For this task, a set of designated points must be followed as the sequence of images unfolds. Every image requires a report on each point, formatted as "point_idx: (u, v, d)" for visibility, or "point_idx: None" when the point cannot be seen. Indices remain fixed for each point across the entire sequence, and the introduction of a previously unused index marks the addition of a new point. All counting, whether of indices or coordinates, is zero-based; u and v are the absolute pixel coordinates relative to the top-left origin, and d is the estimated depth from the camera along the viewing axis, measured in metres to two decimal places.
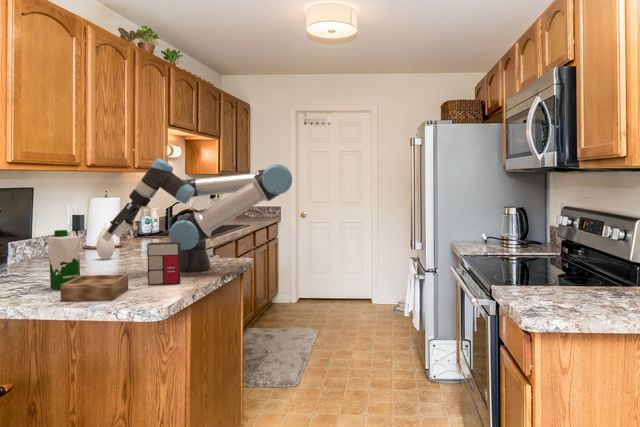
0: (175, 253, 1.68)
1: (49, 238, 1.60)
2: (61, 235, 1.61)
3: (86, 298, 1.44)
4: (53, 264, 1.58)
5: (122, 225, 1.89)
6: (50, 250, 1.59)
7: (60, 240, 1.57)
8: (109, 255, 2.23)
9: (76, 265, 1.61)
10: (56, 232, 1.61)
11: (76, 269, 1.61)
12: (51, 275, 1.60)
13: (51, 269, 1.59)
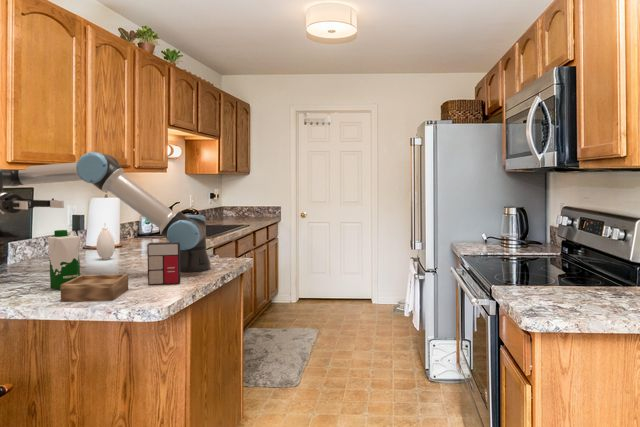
0: (175, 253, 1.68)
1: (49, 238, 1.60)
2: (61, 235, 1.61)
3: (86, 298, 1.44)
4: (53, 264, 1.58)
5: (53, 205, 1.73)
6: (50, 250, 1.59)
7: (60, 240, 1.57)
8: (109, 255, 2.23)
9: (76, 265, 1.61)
10: (56, 232, 1.61)
11: (76, 269, 1.61)
12: (51, 275, 1.60)
13: (51, 269, 1.59)
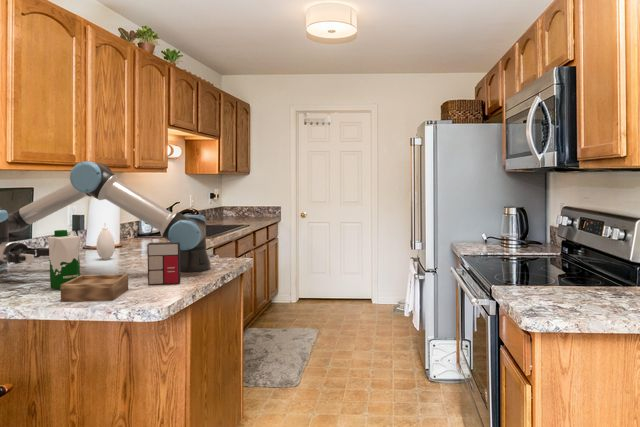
0: (175, 253, 1.68)
1: (49, 238, 1.60)
2: (61, 235, 1.61)
3: (86, 298, 1.44)
4: (53, 264, 1.58)
5: None
6: (50, 250, 1.59)
7: (60, 240, 1.57)
8: (109, 255, 2.23)
9: (76, 265, 1.61)
10: (56, 232, 1.61)
11: (76, 269, 1.61)
12: (51, 275, 1.60)
13: (51, 269, 1.59)
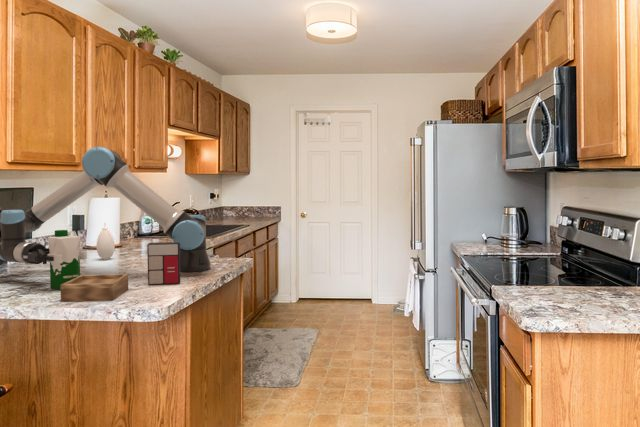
0: (175, 253, 1.68)
1: (49, 238, 1.60)
2: (61, 235, 1.61)
3: (86, 298, 1.44)
4: (53, 264, 1.58)
5: None
6: (50, 250, 1.59)
7: (60, 240, 1.57)
8: (109, 255, 2.23)
9: (76, 265, 1.61)
10: (56, 232, 1.61)
11: (76, 269, 1.61)
12: (51, 275, 1.60)
13: (51, 269, 1.59)
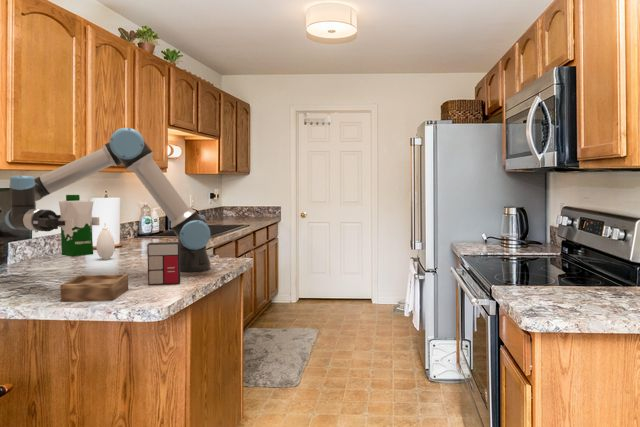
0: (175, 253, 1.68)
1: (60, 202, 1.52)
2: (73, 199, 1.53)
3: (86, 298, 1.44)
4: (65, 229, 1.50)
5: None
6: (61, 214, 1.51)
7: (72, 203, 1.49)
8: (109, 255, 2.23)
9: (88, 231, 1.53)
10: (68, 196, 1.53)
11: (88, 235, 1.53)
12: (62, 241, 1.52)
13: (62, 234, 1.51)
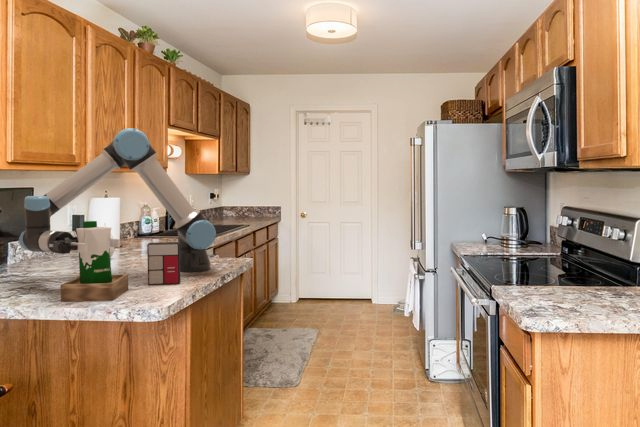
0: (175, 253, 1.68)
1: (78, 229, 1.49)
2: (90, 226, 1.50)
3: (86, 298, 1.44)
4: (83, 257, 1.47)
5: None
6: (79, 242, 1.48)
7: (90, 231, 1.46)
8: None
9: (107, 258, 1.50)
10: (85, 223, 1.50)
11: (107, 262, 1.50)
12: (81, 269, 1.48)
13: (81, 263, 1.48)
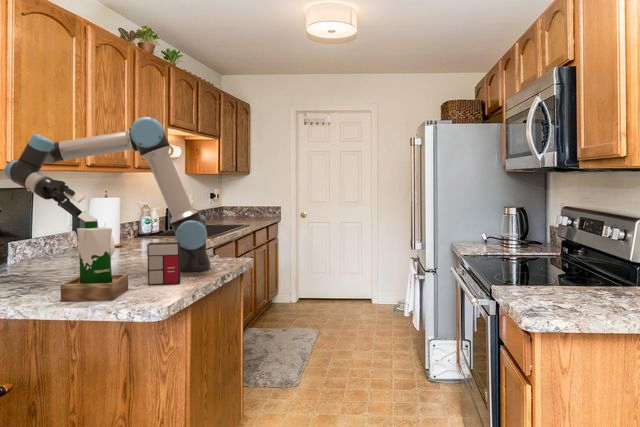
0: (175, 253, 1.68)
1: (79, 230, 1.48)
2: (91, 226, 1.50)
3: (86, 298, 1.44)
4: (84, 258, 1.47)
5: (82, 216, 1.68)
6: (80, 242, 1.48)
7: (91, 232, 1.45)
8: None
9: (108, 259, 1.50)
10: (86, 223, 1.49)
11: (108, 263, 1.50)
12: (81, 269, 1.48)
13: (81, 263, 1.48)
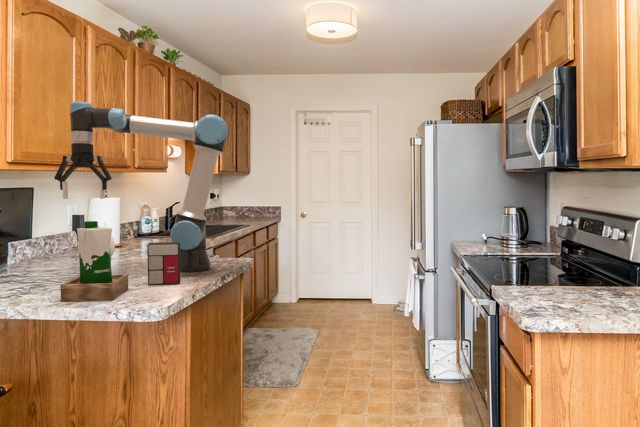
0: (175, 253, 1.68)
1: (79, 230, 1.48)
2: (91, 226, 1.50)
3: (86, 298, 1.44)
4: (84, 258, 1.47)
5: (65, 186, 1.77)
6: (80, 242, 1.48)
7: (91, 232, 1.45)
8: None
9: (108, 259, 1.50)
10: (86, 223, 1.49)
11: (108, 263, 1.50)
12: (81, 269, 1.48)
13: (81, 263, 1.48)
